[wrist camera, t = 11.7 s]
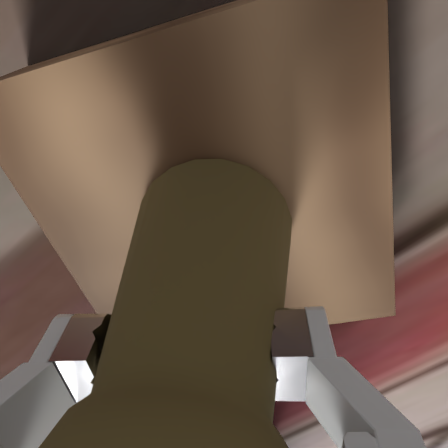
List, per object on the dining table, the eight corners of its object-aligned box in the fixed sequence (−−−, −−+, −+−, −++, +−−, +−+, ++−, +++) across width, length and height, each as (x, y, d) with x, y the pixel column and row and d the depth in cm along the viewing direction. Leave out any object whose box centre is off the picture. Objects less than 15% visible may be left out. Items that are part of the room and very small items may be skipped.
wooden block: (144, 288, 24) (122, 353, 20) (27, 66, 17) (-46, 95, 12) (366, 250, 21) (395, 315, 17) (344, -34, 14) (386, -41, 10)
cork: (300, 278, 15) (359, 710, 6) (164, 292, 17) (48, 677, 7) (281, 144, 12) (348, 624, 3) (115, 173, 13) (-196, 589, 4)
